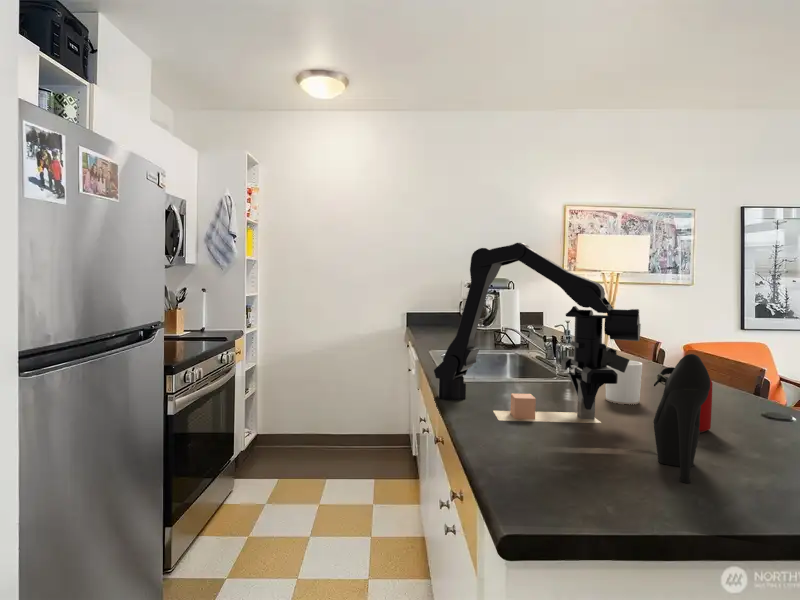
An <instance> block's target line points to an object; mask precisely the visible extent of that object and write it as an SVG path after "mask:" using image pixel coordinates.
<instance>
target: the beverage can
mask: <svg viewBox="0 0 800 600" xmlns="http://www.w3.org/2000/svg"><path fill="white" fill-rule="evenodd" d="M710 383H711V384H710V390H709V394H708V397H707V399H706V401H705V402H704V403H703V404H702V405H701V412H700V428H699V430H700V433H704V432H706V431H708V430H710V429H711V427H712V408H713V381H712V379H711V378H710Z"/></svg>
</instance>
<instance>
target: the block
mask: <svg viewBox="0 0 800 600" xmlns="http://www.w3.org/2000/svg"><path fill="white" fill-rule="evenodd" d="M536 401H537V399H536V397H535V396H533V395H532V394H531V393H512V392H511V393H510V411H511V414H512V416H513V417H514V418H515V419H535V412H536V404H537V403H536Z"/></svg>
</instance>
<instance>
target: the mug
mask: <svg viewBox="0 0 800 600" xmlns="http://www.w3.org/2000/svg"><path fill="white" fill-rule="evenodd" d="M643 364H644V363H642V361H641V362H640V361H636V360H630V359H629V363H628V365H627V368H626V370H625V372H624V373H623V372H621V371H619V370H616V369H614V368H611V367H610V366H607V367H608V368H610V369H612V370H614V371H615V372H616V373H617V374H618V379H617V384H605V400H606V401H607V402H609V403H612V402H613V403H612V404H616V403H618V404H617V405H624V404H629V405H628V406H632V404H633V406H635V405H638V404H639V403H640V400H641V399H640V398H641V389H642V388H641V386H642V385H641V384H642V373H643ZM630 404H631V405H630ZM634 404H635V405H634Z"/></svg>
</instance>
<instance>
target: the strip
mask: <svg viewBox="0 0 800 600" xmlns="http://www.w3.org/2000/svg"><path fill="white" fill-rule="evenodd" d="M576 406H577V409H576V411H577V412H571V411H570V412H568V411H566V412H561V411H559V412H558V411H535V419H515V418H514V417H513V416H512V414H511V410H492V411H493V414H494V415H495V417H496V418H497V420H498V421H501V422H502V421H504V422H507V421H508V422H540V423H543V422H544V423H545V422H547V423H550V422H551V423H583V424H584V423H585V424H602V422H601V421H600V420H599V419H597V418H596V399H595V400H594V402H593V405H592V408H591V409H590V410H588V409H586V408H585V405H584V402H583V399H582V396H581V393H580V389H579V386H578V396H577V405H576Z"/></svg>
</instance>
